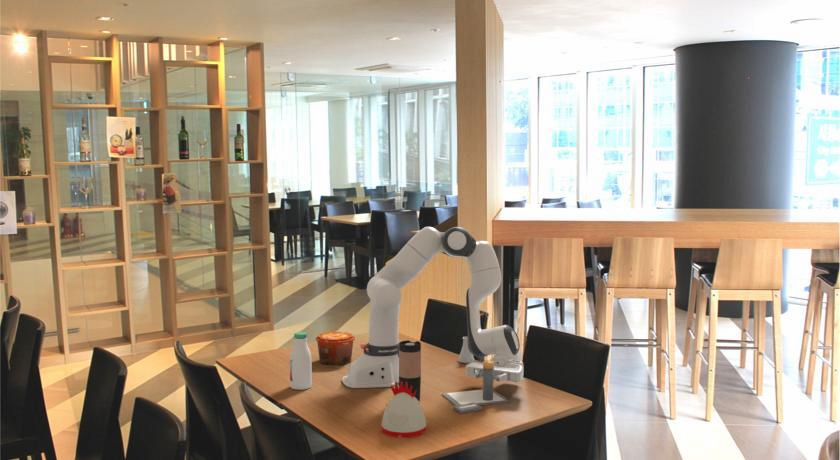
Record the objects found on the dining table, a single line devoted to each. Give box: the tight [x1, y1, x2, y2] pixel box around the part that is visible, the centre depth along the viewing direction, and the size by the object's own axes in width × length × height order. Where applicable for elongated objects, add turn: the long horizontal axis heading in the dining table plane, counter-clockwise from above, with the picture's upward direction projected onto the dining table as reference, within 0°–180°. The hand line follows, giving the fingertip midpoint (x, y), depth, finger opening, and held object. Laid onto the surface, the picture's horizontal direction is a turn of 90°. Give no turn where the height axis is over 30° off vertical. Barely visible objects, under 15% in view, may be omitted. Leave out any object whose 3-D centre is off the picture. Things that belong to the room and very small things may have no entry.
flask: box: [457, 336, 476, 364], centre depth 315 cm, size 7×7×10 cm
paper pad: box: [441, 388, 510, 406], centre depth 267 cm, size 19×15×1 cm
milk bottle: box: [289, 331, 313, 391], centre depth 278 cm, size 8×8×20 cm
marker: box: [482, 359, 495, 401], centre depth 264 cm, size 4×4×13 cm
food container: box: [315, 331, 356, 366], centre depth 314 cm, size 16×16×11 cm
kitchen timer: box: [380, 382, 427, 439], centre depth 236 cm, size 14×14×15 cm
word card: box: [453, 403, 483, 414], centre depth 255 cm, size 8×5×1 cm, turn 119°
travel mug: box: [398, 340, 422, 401], centre depth 264 cm, size 8×8×20 cm
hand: (487, 377), depth 262 cm, fingers open, 7 cm apart
